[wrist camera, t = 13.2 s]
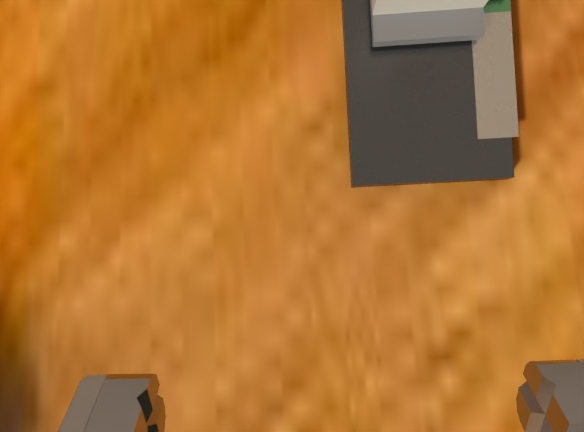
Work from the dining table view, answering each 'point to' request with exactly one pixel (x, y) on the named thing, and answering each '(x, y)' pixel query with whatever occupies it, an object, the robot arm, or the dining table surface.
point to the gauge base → (430, 104)
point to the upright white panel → (426, 21)
